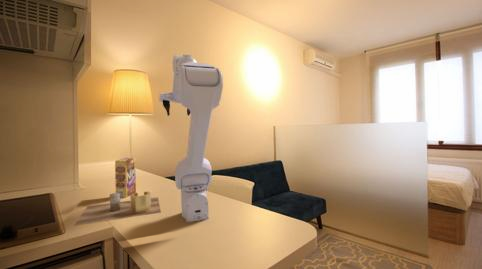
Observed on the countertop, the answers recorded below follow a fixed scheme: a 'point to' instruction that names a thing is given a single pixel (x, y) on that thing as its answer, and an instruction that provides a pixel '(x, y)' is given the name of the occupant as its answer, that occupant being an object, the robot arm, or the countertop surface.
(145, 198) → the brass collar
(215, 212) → the countertop surface
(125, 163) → the candy box
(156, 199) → the keyed post board
